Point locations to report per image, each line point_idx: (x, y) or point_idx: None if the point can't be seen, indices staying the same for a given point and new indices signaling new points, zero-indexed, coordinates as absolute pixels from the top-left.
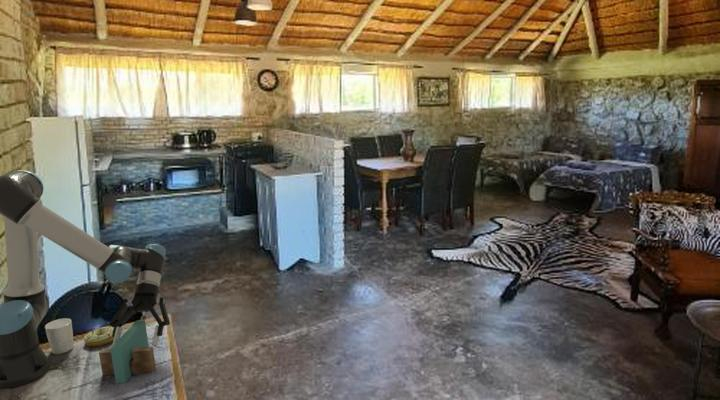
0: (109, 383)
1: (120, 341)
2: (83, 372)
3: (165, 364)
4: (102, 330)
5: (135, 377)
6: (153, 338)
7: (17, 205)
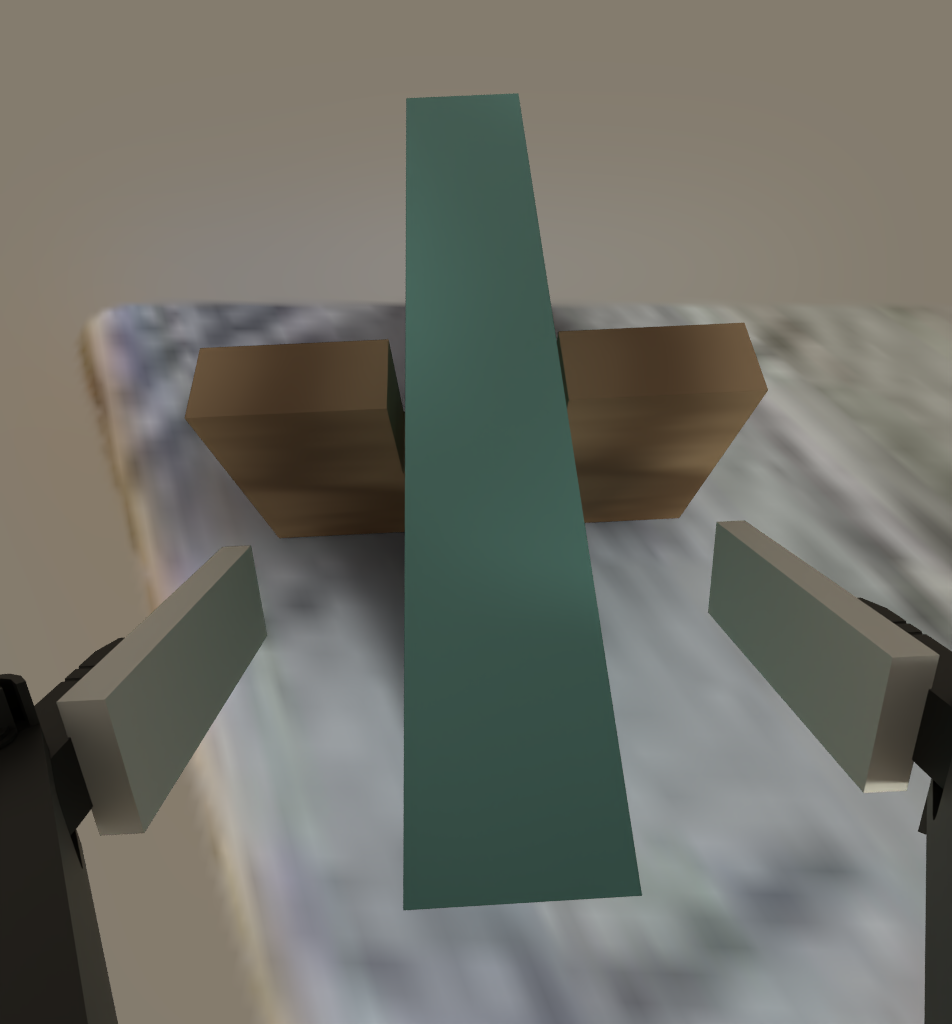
0: None
1: (484, 192)
2: (852, 500)
3: None
4: None
5: None
6: (214, 578)
7: None
